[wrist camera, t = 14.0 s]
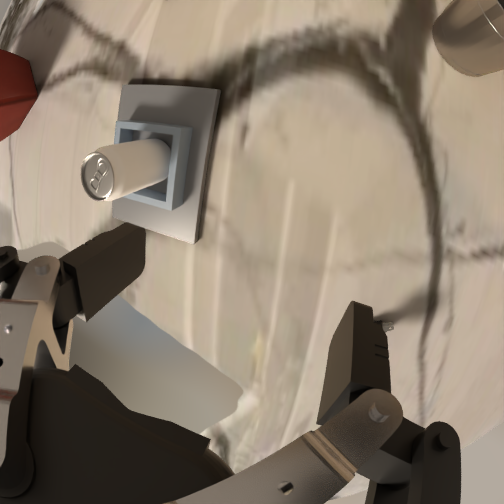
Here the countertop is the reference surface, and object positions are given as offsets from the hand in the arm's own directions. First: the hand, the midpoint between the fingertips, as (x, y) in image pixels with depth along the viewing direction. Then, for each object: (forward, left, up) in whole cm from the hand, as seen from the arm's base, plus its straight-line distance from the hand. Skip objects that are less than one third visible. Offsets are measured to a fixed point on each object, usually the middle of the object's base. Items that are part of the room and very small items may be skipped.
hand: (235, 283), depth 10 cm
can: (+3, -21, -26) cm, 34 cm away
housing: (+3, -21, -27) cm, 35 cm away
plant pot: (-8, -65, -27) cm, 71 cm away
